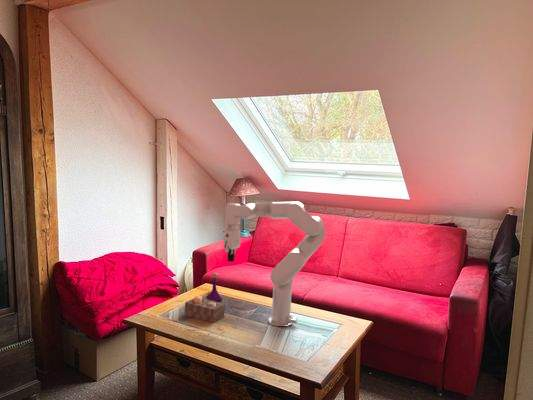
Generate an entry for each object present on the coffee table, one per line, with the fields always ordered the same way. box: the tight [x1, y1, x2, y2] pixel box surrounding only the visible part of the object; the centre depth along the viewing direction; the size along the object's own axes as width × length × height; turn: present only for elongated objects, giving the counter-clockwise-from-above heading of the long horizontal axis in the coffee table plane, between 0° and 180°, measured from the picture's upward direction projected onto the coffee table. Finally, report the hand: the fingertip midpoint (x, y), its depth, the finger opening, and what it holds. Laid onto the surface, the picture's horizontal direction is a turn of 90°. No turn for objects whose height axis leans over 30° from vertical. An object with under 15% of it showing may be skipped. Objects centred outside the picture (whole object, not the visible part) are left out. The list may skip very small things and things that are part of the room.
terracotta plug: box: [193, 295, 203, 304], centre depth 212 cm, size 4×4×7 cm
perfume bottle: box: [205, 272, 223, 303], centre depth 229 cm, size 8×8×18 cm
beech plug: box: [208, 302, 216, 307], centre depth 209 cm, size 4×4×7 cm
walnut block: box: [184, 298, 226, 324], centre depth 211 cm, size 18×10×7 cm, turn 64°
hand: (230, 261), depth 212 cm, fingers closed
